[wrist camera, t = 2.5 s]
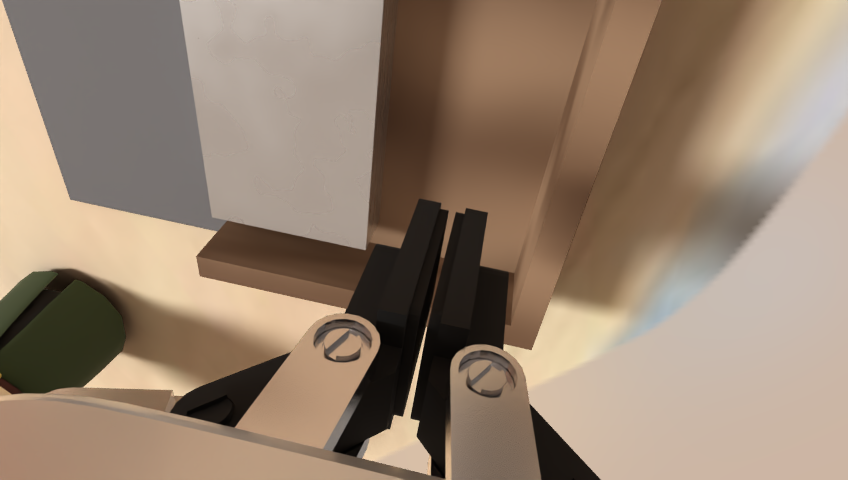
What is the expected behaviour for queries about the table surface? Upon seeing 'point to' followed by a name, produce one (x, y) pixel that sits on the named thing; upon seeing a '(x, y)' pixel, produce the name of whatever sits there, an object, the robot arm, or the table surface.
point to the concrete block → (293, 111)
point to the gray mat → (117, 103)
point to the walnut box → (476, 145)
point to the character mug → (55, 336)
